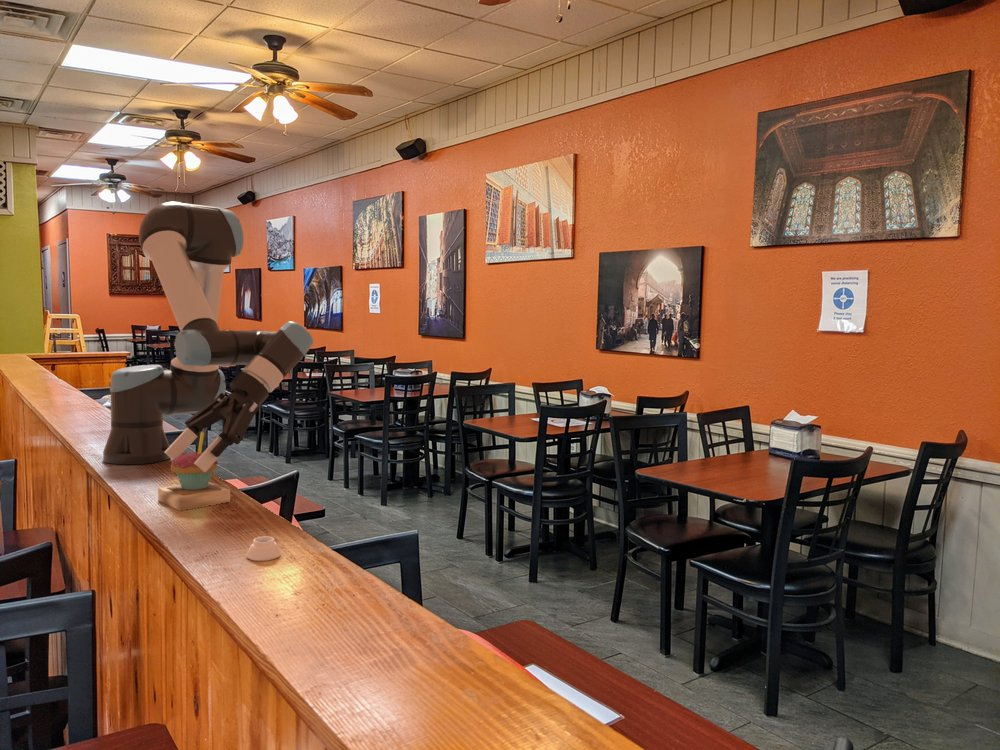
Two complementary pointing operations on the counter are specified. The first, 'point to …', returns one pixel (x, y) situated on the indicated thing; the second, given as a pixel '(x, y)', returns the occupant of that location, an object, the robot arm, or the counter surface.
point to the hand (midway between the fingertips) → (183, 462)
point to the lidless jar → (263, 549)
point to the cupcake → (192, 469)
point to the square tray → (193, 496)
